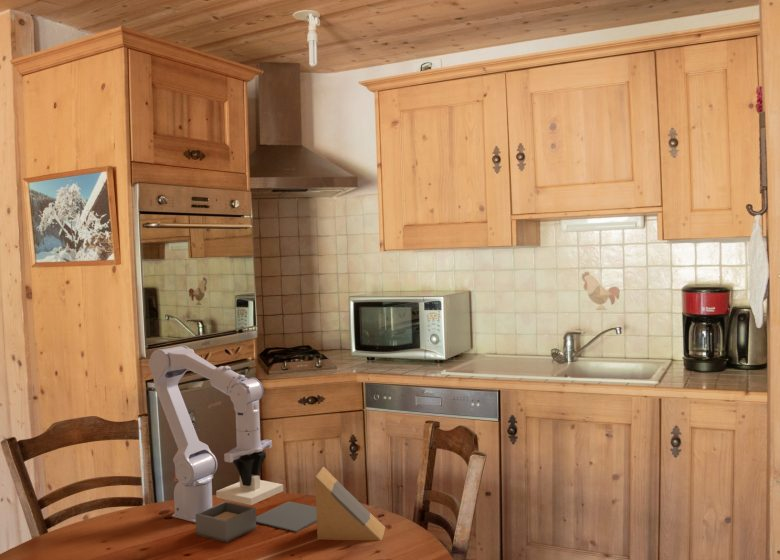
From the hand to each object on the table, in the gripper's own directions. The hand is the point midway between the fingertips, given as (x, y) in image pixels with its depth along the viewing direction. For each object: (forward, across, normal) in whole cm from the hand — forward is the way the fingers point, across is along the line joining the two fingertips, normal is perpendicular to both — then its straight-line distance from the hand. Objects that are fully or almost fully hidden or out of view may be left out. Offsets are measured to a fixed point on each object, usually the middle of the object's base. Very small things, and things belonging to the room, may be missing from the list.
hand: (250, 483), depth 172 cm
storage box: (+10, -6, +3) cm, 12 cm away
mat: (+10, +10, -5) cm, 15 cm away
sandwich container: (+11, +8, -24) cm, 28 cm away
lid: (+2, 0, 0) cm, 3 cm away
